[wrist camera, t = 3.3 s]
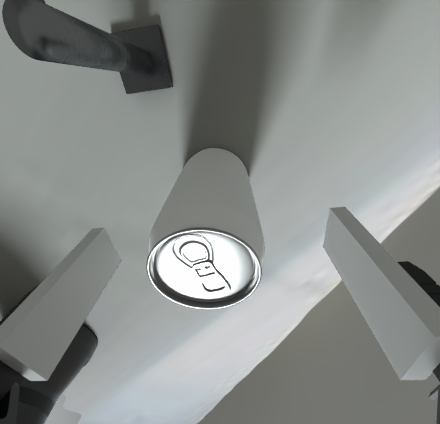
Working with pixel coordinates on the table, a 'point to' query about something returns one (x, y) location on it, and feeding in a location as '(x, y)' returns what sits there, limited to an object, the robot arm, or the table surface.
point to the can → (208, 235)
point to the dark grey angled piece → (88, 44)
